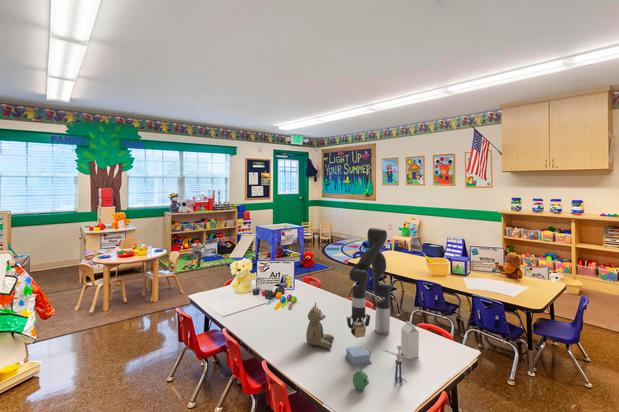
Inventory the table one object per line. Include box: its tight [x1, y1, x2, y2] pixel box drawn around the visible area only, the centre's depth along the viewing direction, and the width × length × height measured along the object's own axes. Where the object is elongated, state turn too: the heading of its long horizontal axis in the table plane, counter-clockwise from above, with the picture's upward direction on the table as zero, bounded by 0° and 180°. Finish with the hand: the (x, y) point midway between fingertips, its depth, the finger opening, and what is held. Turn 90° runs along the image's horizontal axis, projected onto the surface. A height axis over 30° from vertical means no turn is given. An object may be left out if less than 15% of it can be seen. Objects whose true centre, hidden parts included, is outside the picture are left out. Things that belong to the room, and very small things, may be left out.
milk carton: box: [400, 320, 420, 359], centre depth 183 cm, size 7×7×19 cm
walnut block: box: [353, 323, 366, 339], centre depth 177 cm, size 6×6×6 cm
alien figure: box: [380, 344, 418, 385], centre depth 158 cm, size 20×5×19 cm, turn 55°
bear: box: [305, 301, 335, 350], centre depth 195 cm, size 21×16×25 cm
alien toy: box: [352, 365, 370, 391], centre depth 152 cm, size 7×8×10 cm
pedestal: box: [344, 345, 373, 368], centre depth 178 cm, size 11×11×5 cm
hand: (358, 333), depth 177 cm, fingers closed on walnut block, 5 cm apart
